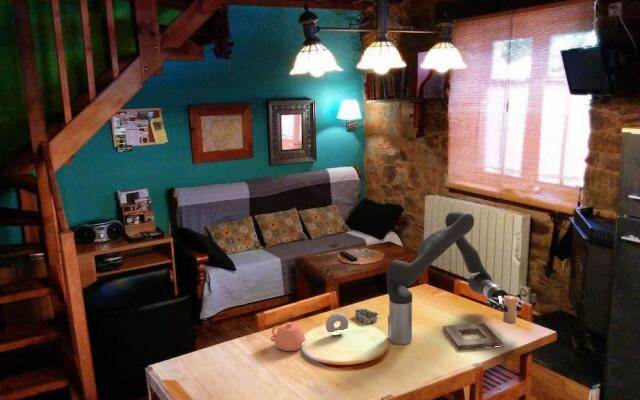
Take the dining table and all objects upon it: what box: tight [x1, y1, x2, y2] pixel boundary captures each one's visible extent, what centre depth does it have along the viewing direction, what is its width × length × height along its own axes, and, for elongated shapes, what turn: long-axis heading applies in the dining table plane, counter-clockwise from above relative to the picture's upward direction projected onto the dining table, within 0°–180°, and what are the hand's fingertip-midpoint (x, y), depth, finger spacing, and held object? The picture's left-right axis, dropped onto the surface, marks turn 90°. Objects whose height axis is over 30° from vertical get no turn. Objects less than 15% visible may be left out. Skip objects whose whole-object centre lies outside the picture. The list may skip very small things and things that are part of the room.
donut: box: [325, 312, 349, 333], centre depth 219 cm, size 10×4×10 cm, turn 109°
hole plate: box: [442, 322, 504, 351], centre depth 214 cm, size 18×18×2 cm
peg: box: [502, 295, 518, 325], centre depth 211 cm, size 5×5×10 cm
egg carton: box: [353, 308, 379, 324], centre depth 235 cm, size 11×8×4 cm
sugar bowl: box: [270, 321, 306, 352], centre depth 210 cm, size 12×14×10 cm
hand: (513, 309), depth 209 cm, fingers closed on peg, 5 cm apart
